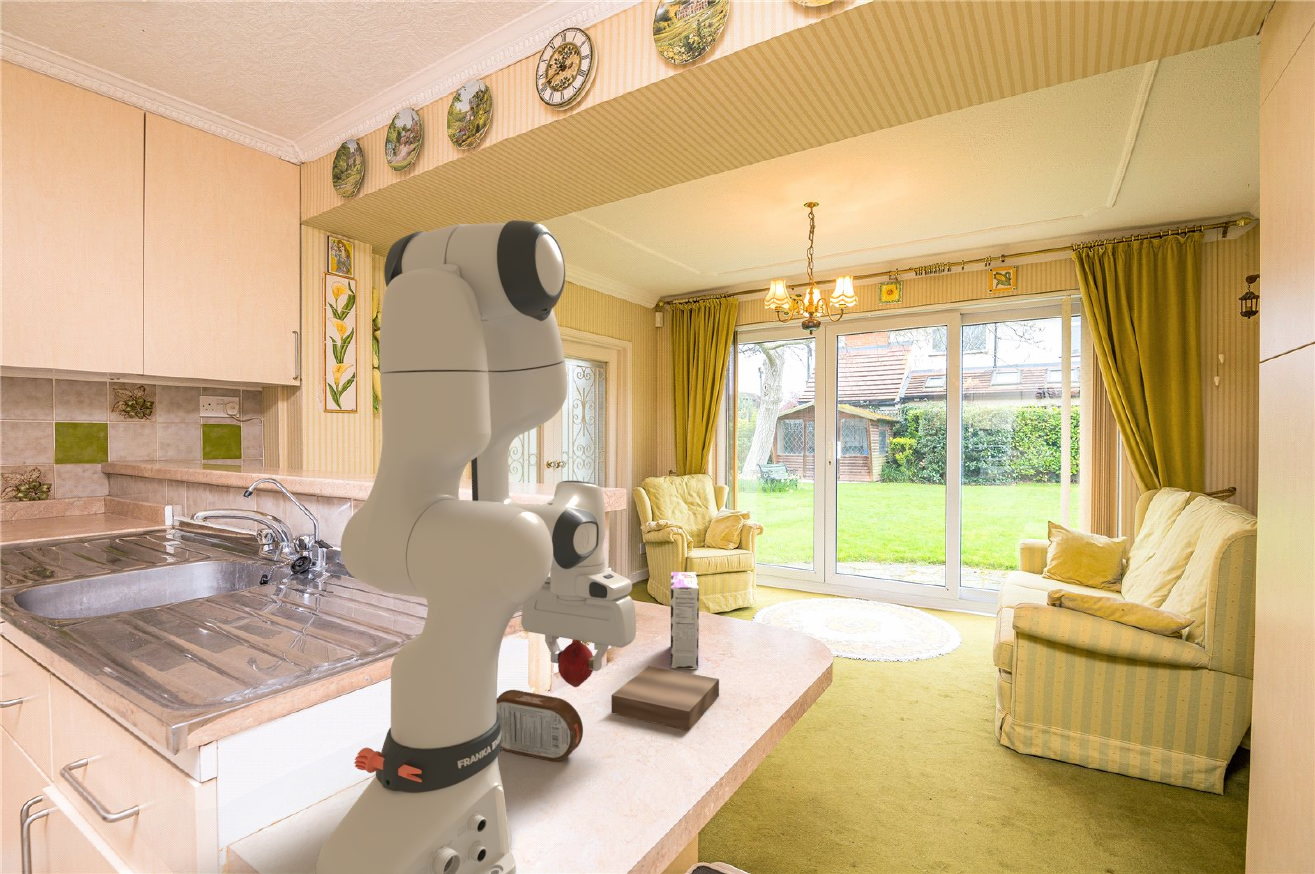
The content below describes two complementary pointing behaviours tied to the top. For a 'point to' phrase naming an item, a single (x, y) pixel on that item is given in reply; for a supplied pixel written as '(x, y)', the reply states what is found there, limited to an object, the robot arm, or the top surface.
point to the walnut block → (666, 697)
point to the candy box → (684, 619)
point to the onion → (575, 663)
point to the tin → (538, 725)
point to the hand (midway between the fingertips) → (575, 665)
